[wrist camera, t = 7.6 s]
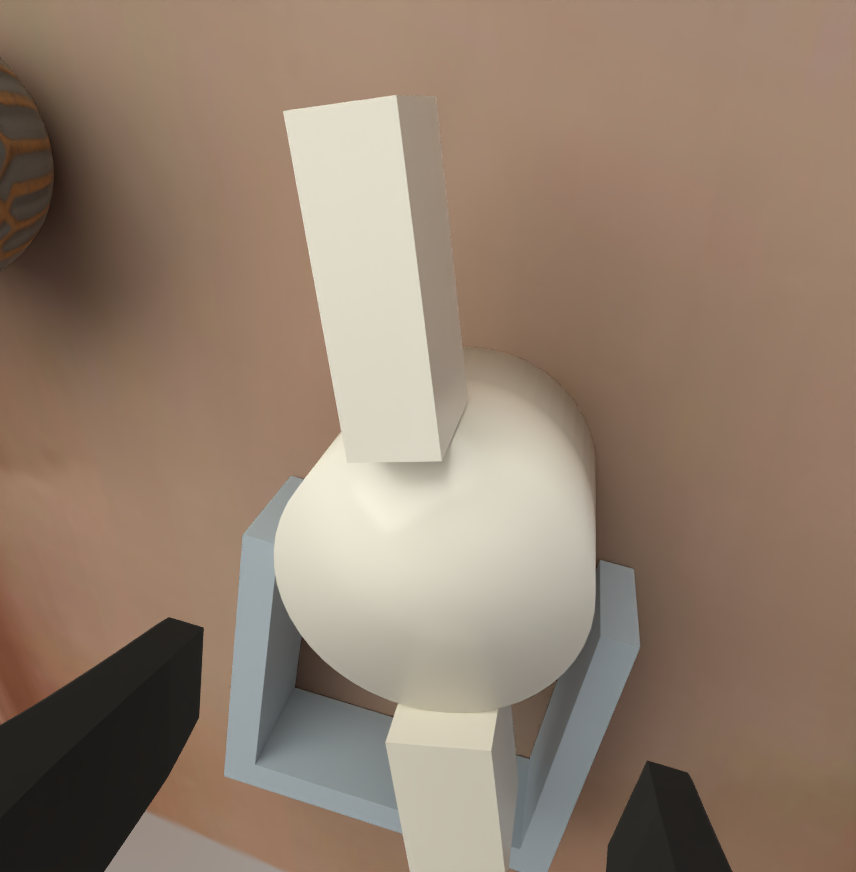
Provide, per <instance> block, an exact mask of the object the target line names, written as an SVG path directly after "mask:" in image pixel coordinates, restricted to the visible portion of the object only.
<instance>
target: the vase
mask: <svg viewBox="0 0 856 872" xmlns="http://www.w3.org/2000/svg"><path fill="white" fill-rule="evenodd" d="M53 181H54V166H53V156H52V150H51V145H50V141H49V138H48V134H47V131H46V128H45V125H44V123H43V120H42V118H41V115H40V113H39V111H38V109H37V107H36V105H35V104H34V102H33V100H32V98H31V97H30V95H29V93H28V92H27V90H26V89H25V88H24V86H23V85H22V83H21V82H20V81H19V79H18V78H17V76H16V75H15V74H14V73H13V71H12V70H11V69H10V68H9V66H8V65H7V64H6V63H5V62H4V61H3V60H2V59H1V58H0V271H2V270H3V269H5V268H6V267H7V266H9V265H10V264H11V263H12V262H13V261H14V260H15V259H17V258H18V257H19V256H20V255H21V254H22V253H23V252H24V251H25V250H26V249H27V247H28V246H29V245H30V243H31V242H32V241H33V239H34V238H35V237H36V235H37V234H38V232H39V231H40V229H41V227H42V225H43V223H44V221H45V218H46V216H47V213H48V210H49V206H50V201H51V196H52V191H53Z"/></svg>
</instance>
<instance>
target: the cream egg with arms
mask: <svg viewBox="0 0 856 872" xmlns="http://www.w3.org/2000/svg"><path fill="white" fill-rule="evenodd" d="M283 113H284V118H285V124H286V129H287V135H288V140H289V146H290V151H291V157H292V162H293V168H294V173H295V179H296V184H297V190H298V195H299V201H300V206H301V212H302V217H303V223H304V228H305V234H306V239H307V245H308V250H309V256H310V261H311V267H312V272H313V278H314V283H315V289H316V294H317V300H318V305H319V311H320V316H321V322H322V327H323V333H324V338H325V344H326V349H327V355H328V360H329V366H330V371H331V377H332V382H333V388H334V393H335V399H336V404H337V410H338V415H339V421H340V426H341V432H340V434H339V435H338V436H337V438H336V439H335V440H334V441H333V443H332V444H331V445H330V447H329V448H328V449H327V451H326V452H325V453H324V454H323V456H322V457H321V458H320V460H319V461H318V462H317V463H316V465H315V466H314V467H313V469H312V470H311V471H310V473H309V474H308V475H307V476H306V478H305V479H304V480H303V482H302V483H301V484H300V486H299V487H298V488H297V490H296V491H295V493H294V494H293V495H292V497H291V498H290V500H289V501H288V503H287V505H286V507H285V509H284V511H283V513H282V515H281V518H280V521H279V525H278V528H277V531H276V537H275V544H274V569H275V575H276V581H277V586H278V589H279V592H280V595H281V599H282V601H283V604H284V606H285V608H286V610H287V612H288V614H289V617H290V618H291V620H292V622H293V623H294V625H295V626H296V628H297V630H298V631H299V633H300V634H301V635H302V637H303V638H304V639H305V641H306V642H307V643H308V644H309V646H310V647H311V648H312V649H313V650H314V651H315V652H316V653H317V654H318V655H319V656H320V657H321V658H322V659H323V660H324V661H325V662H326V663H327V664H329V665H330V666H331V667H332V668H333V669H335V670H336V671H337V672H338V673H340V674H341V675H343V676H344V677H346V678H347V679H348V680H350V681H351V682H353V683H354V684H356V685H358V686H360V687H362V688H364V689H365V690H367V691H369V692H371V693H373V694H375V695H378V696H380V697H382V698H385V699H387V700H390V701H393V702H396V703H398V705H397V708H396V711H395V714H394V717H393V720H392V723H391V727H390V730H389V733H388V736H387V739H386V742H385V744H386V749H387V754H388V760H389V765H390V770H391V775H392V780H393V786H394V791H395V796H396V801H397V807H398V812H399V817H400V822H401V828H402V833H403V838H404V843H405V849H406V854H407V859H408V864H409V870H410V872H508V870H509V861H510V852H511V843H512V835H513V826H514V817H515V808H516V800H517V791H518V772H517V761H516V751H515V740H514V730H513V720H512V709H511V705H512V704H515V703H518V702H520V701H523V700H525V699H527V698H529V697H531V696H533V695H535V694H537V693H539V692H540V691H542V690H543V689H545V688H546V687H548V686H549V685H551V684H552V683H553V682H554V681H555V680H557V679H558V678H559V677H560V676H561V675H562V674H564V673H565V671H566V670H567V669H568V668H569V667H570V665H571V664H572V663H573V662H574V661H575V660H576V658H577V656H578V655H579V653H580V651H581V650H582V648H583V646H584V645H585V642H586V640H587V637H588V635H589V632H590V630H591V626H592V621H593V617H594V612H595V595H596V459H595V450H594V444H593V440H592V436H591V433H590V430H589V428H588V425H587V423H586V420H585V418H584V416H583V414H582V413H581V411H580V409H579V408H578V406H577V404H576V403H575V402H574V400H573V399H572V398H571V397H570V395H569V394H568V393H567V392H566V390H565V389H564V388H563V387H561V386H560V385H559V384H558V383H557V382H556V381H555V380H554V379H553V378H552V377H550V376H549V375H548V374H546V373H545V372H544V371H542V370H541V369H539V368H538V367H536V366H534V365H532V364H531V363H529V362H527V361H525V360H523V359H520V358H518V357H515V356H513V355H511V354H508V353H504V352H500V351H496V350H493V349H486V348H479V347H462V338H461V328H460V318H459V309H458V299H457V290H456V280H455V270H454V261H453V251H452V242H451V232H450V222H449V213H448V203H447V194H446V184H445V175H444V165H443V155H442V146H441V136H440V127H439V117H438V107H437V98H436V96H409V95H394V96H386V97H379V98H372V99H365V100H358V101H351V102H344V103H337V104H330V105H323V106H316V107H309V108H302V109H294V110H287V111H283Z"/></svg>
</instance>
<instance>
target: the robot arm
mask: <svg viewBox="0 0 856 872" xmlns="http://www.w3.org/2000/svg"><path fill="white" fill-rule="evenodd" d="M203 631H204V628H203V627H200V626H196V625H193V624H190V623H186V622H183V621H180V620H176V619H173V618H170V617H169V618H167V619H165V620H163V621H161V622H160V623H158V624H157V625H155V626H154V627H153V628H151V629H150V630H148V631H147V632H145V633H144V634H142V635H141V636H139V637H138V638H136V639H135V640H133V641H132V642H130V643H129V644H128V645H126V646H125V647H123V648H122V649H120V650H119V651H117V652H116V653H114V654H113V655H111V656H110V657H108V658H107V659H105V660H104V661H102V662H101V663H99V664H98V665H96V666H95V667H93V668H92V669H90V670H89V671H87V672H86V673H84V674H83V675H81V676H79V677H78V678H76V679H75V680H73V681H72V682H70V683H69V684H67V685H65V686H64V687H62V688H61V689H59V690H58V691H56V692H54V693H53V694H51V695H50V696H48V697H47V698H45V699H43V700H42V701H40V702H39V703H37V704H35V705H34V706H32V707H30V708H29V709H27V710H25V711H24V712H22V713H20V714H18V715H17V716H15V717H13V718H12V719H10V720H8V721H6V722H5V723H3V724H1V725H0V872H104V871H105V869H106V868H107V867H108V865H109V864H110V862H111V861H112V859H113V858H114V856H115V855H116V853H117V852H118V850H119V849H120V847H121V846H122V845H123V843H124V842H125V840H126V839H127V837H128V836H129V834H130V833H131V831H132V830H133V828H134V827H135V825H136V824H137V822H138V821H139V819H140V818H141V816H142V815H143V813H144V812H145V810H146V809H147V807H148V806H149V804H150V803H151V802H152V800H153V799H154V797H155V796H156V794H157V793H158V791H159V790H160V788H161V786H162V785H163V783H164V782H165V780H166V779H167V777H168V776H169V774H170V772H171V770H172V768H173V766H174V764H175V763H176V761H177V759H178V757H179V755H180V753H181V751H182V750H183V748H184V746H185V744H186V742H187V740H188V738H189V736H190V734H191V732H192V730H193V728H194V726H195V724H196V722H197V720H198V718H199V709H200V689H201V670H202V651H203ZM606 872H732V870H731V868H730V865H729V863H728V861H727V859H726V857H725V854H724V852H723V850H722V848H721V845H720V843H719V841H718V839H717V836H716V834H715V832H714V830H713V827H712V825H711V823H710V820H709V818H708V816H707V814H706V811H705V809H704V807H703V804H702V802H701V799H700V797H699V795H698V792H697V790H696V788H695V785H694V783H693V781H692V779H691V777H690V775H689V774H688V773H687V772H684V771H680V770H677V769H674V768H670V767H667V766H664V765H660V764H657V763H654V762H650V761H647V762H646V764H645V767H644V769H643V771H642V773H641V775H640V777H639V780H638V782H637V784H636V786H635V788H634V790H633V793H632V795H631V797H630V799H629V801H628V803H627V806H626V808H625V810H624V812H623V814H622V816H621V818H620V821H619V823H618V825H617V827H616V829H615V831H614V834H613V836H612V838H611V840H610V842H609V844H608V852H607V867H606Z"/></svg>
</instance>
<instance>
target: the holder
mask: <svg viewBox="0 0 856 872" xmlns="http://www.w3.org/2000/svg"><path fill="white" fill-rule="evenodd" d="M303 480H304V479H301V478H297V477H294V476H290V477H289V479H288V480H287V481H286V482H285V484H284V485H283V486H282V487H281V489H280V490H279V491H278V492H277V493H276V495H275V496H274V497H273V498H272V500H271V501H270V502H269V503H268V504H267V506H266V507H265V508H264V509H263V511H262V512H261V513H260V514H259V515H258V517H257V518H256V519H255V520H254V522H253V523H252V524H251V525H250V526H249V528H248V529H247V530H246V531H245V533H244V534H243V539H242V551H241V564H240V577H239V590H238V603H237V616H236V629H235V642H234V655H233V668H232V680H231V693H230V706H229V719H228V732H227V745H226V758H225V771H224V776H225V777H228V778H231V779H234V780H238V781H241V782H244V783H247V784H250V785H253V786H256V787H259V788H262V789H265V790H269V791H272V792H275V793H278V794H281V795H284V796H287V797H290V798H293V799H296V800H299V801H303V802H306V803H309V804H312V805H315V806H318V807H321V808H324V809H327V810H330V811H333V812H337V813H340V814H343V815H346V816H349V817H352V818H355V819H358V820H361V821H364V822H367V823H371V824H374V825H377V826H380V827H383V828H386V829H389V830H392V831H395V832H398V833H401V834H403V833H402V828H401V822H400V817H399V812H398V807H397V801H396V796H395V791H394V786H393V780H392V775H391V770H390V765H389V760H388V754H387V749H386V744H385V742H386V739H387V736H388V733H389V730H390V727H391V723H392V720H393V717H390V716H387V715H384V714H380V713H377V712H374V711H371V710H367V709H364V708H361V707H357V706H354V705H351V704H348V703H344V702H341V701H338V700H335V699H331V698H328V697H325V696H321V695H318V694H315V693H312V692H308V691H305V690H302V689H299V688H295V683H296V675H297V668H298V660H299V652H300V645H301V637H302V635H301V634H300V633H299V631H298V630H297V628H296V626H295V625H294V623H293V622H292V620H291V618H290V617H289V614H288V612H287V610H286V608H285V606H284V604H283V601H282V599H281V595H280V592H279V589H278V586H277V581H276V575H275V569H274V544H275V537H276V531H277V528H278V525H279V521H280V518H281V515H282V513H283V511H284V509H285V507H286V505H287V503H288V501H289V500H290V498H291V497H292V495H293V494H294V493H295V491H296V490H297V488H298V487H299V486H300V484H301V483H302V482H303ZM639 649H640V638H639V626H638V613H637V601H636V588H635V576H634V569H632V568H628V567H624V566H621V565H617V564H613V563H610V562H606V561H602V560H600V561H599V564H598V567H597V570H596V595H595V612H594V617H593V621H592V626H591V630H590V632H589V635H588V637H587V640H586V642H585V645H584V646H583V648H582V650H581V651H580V653H579V655H578V656H577V658H576V660H575V661H574V662H573V663H572V664H571V665H570V667H569V668H568V669H567V670H566V671H565V673H564V674H562V675H561V676H560V677H559V678H558V680H557V683H556V685H555V688H554V691H553V694H552V697H551V700H550V702H549V705H548V708H547V711H546V714H545V716H544V719H543V722H542V725H541V728H540V731H539V733H538V736H537V739H536V742H535V745H534V747H533V750H532V753H531V756H530V759H528V758H524V757H521V756H518V755H516V761H517V772H518V791H517V800H516V808H515V817H514V826H513V835H512V843H511V852H510V861H509V868H510V869H513V870H516V871H519V872H548V869H549V867H550V864H551V862H552V860H553V857H554V855H555V852H556V850H557V847H558V845H559V843H560V840H561V838H562V835H563V833H564V831H565V828H566V826H567V823H568V821H569V818H570V816H571V814H572V811H573V809H574V806H575V804H576V801H577V799H578V797H579V794H580V792H581V789H582V787H583V785H584V782H585V780H586V777H587V775H588V772H589V770H590V768H591V765H592V763H593V760H594V758H595V756H596V753H597V751H598V748H599V746H600V743H601V741H602V739H603V736H604V734H605V731H606V729H607V727H608V724H609V722H610V719H611V717H612V714H613V712H614V710H615V707H616V705H617V702H618V700H619V698H620V695H621V693H622V690H623V688H624V685H625V683H626V681H627V678H628V676H629V673H630V671H631V669H632V666H633V664H634V661H635V659H636V656H637V654H638V652H639Z"/></svg>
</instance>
